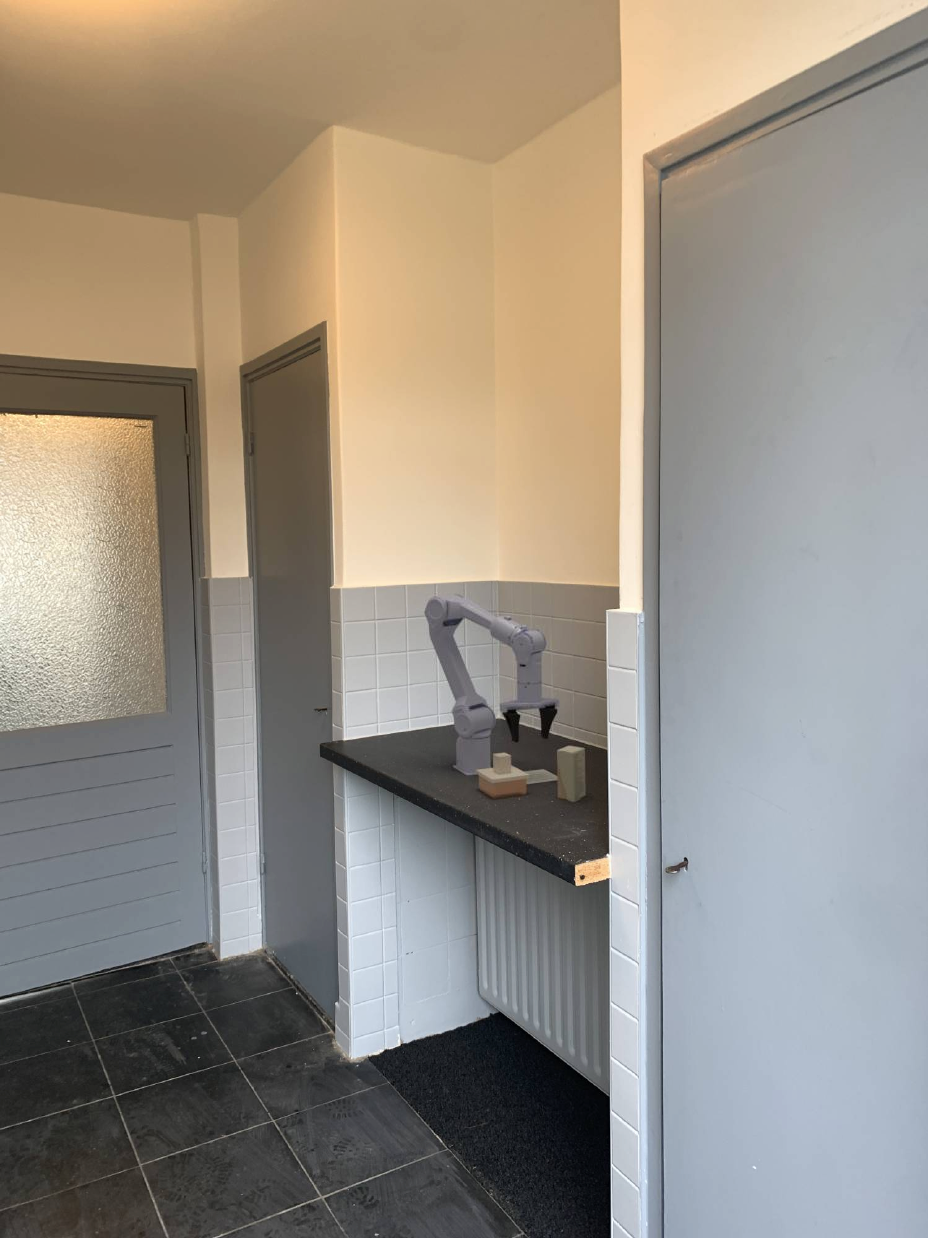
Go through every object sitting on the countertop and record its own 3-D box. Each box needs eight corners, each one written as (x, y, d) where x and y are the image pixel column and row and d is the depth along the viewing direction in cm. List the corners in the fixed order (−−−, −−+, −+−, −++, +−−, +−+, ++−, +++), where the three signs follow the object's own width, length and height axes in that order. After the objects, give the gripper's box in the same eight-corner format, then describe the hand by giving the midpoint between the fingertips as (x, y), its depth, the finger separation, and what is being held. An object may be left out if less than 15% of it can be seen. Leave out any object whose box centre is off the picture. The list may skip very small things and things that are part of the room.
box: (569, 793, 200) (569, 745, 199) (586, 797, 198) (586, 747, 197) (556, 799, 196) (556, 749, 195) (573, 803, 194) (573, 752, 192)
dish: (479, 791, 204) (478, 773, 203) (511, 786, 207) (510, 769, 206) (493, 800, 196) (493, 782, 196) (526, 795, 199) (526, 778, 199)
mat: (506, 775, 216) (506, 774, 216) (543, 770, 220) (543, 769, 220) (524, 786, 207) (524, 784, 207) (563, 780, 211) (563, 779, 211)
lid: (475, 773, 204) (475, 752, 203) (511, 768, 207) (511, 748, 207) (492, 783, 195) (491, 761, 195) (529, 778, 199) (529, 757, 198)
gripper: (508, 687, 202) (509, 746, 204) (565, 682, 208) (565, 740, 209) (495, 682, 209) (496, 740, 210) (551, 677, 214) (551, 734, 216)
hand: (530, 739), depth 210 cm, fingers open, 7 cm apart
